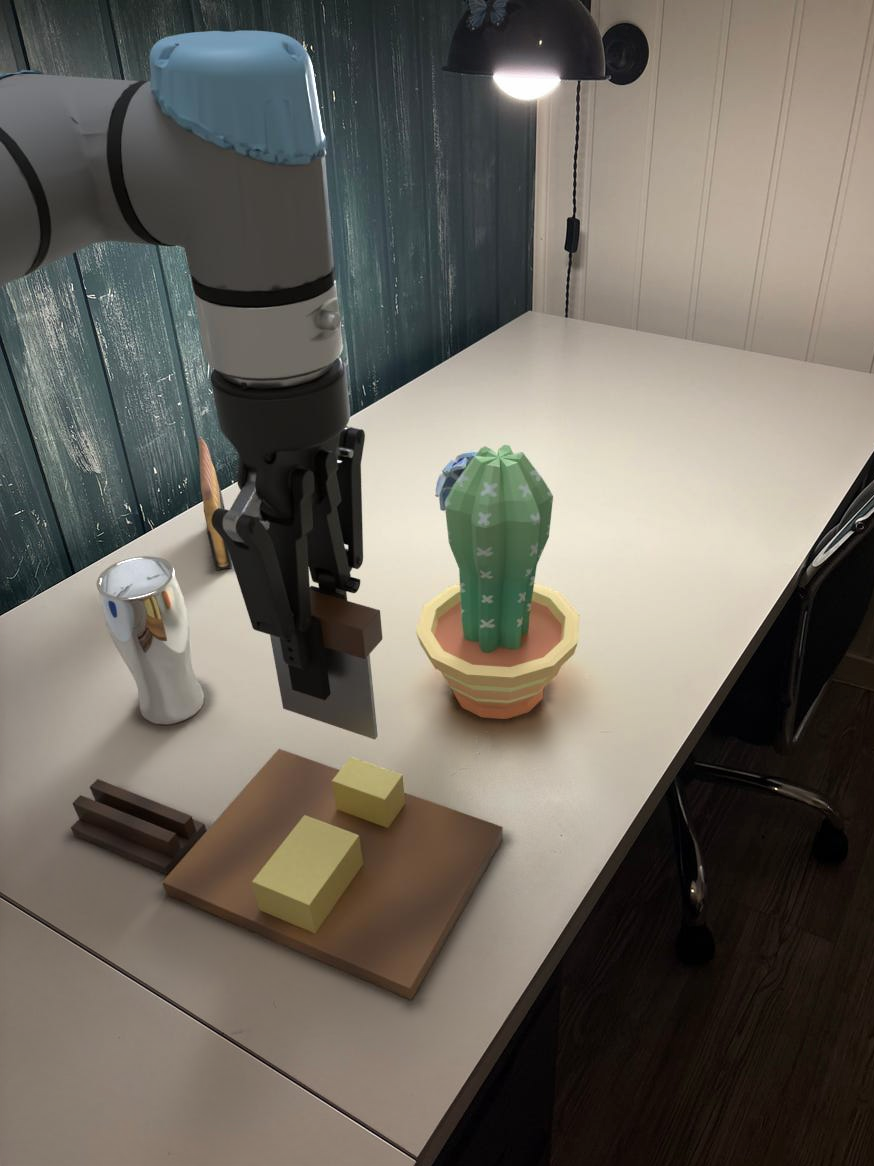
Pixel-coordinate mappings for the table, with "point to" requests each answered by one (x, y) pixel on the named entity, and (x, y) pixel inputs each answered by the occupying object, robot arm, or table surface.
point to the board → (377, 892)
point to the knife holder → (135, 826)
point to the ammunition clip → (212, 507)
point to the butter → (308, 873)
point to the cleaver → (339, 666)
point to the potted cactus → (497, 588)
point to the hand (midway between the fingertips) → (323, 678)
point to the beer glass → (152, 636)
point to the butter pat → (369, 792)
